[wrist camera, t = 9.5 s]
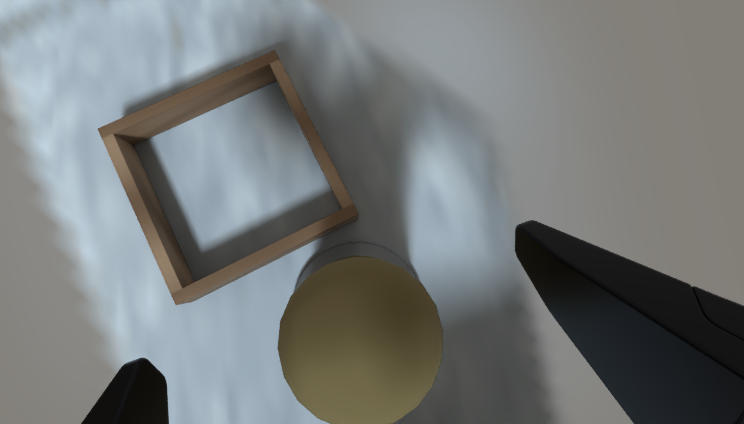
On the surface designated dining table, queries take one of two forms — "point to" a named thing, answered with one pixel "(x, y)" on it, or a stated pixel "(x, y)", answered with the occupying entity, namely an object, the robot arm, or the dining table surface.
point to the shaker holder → (185, 108)
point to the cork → (360, 342)
